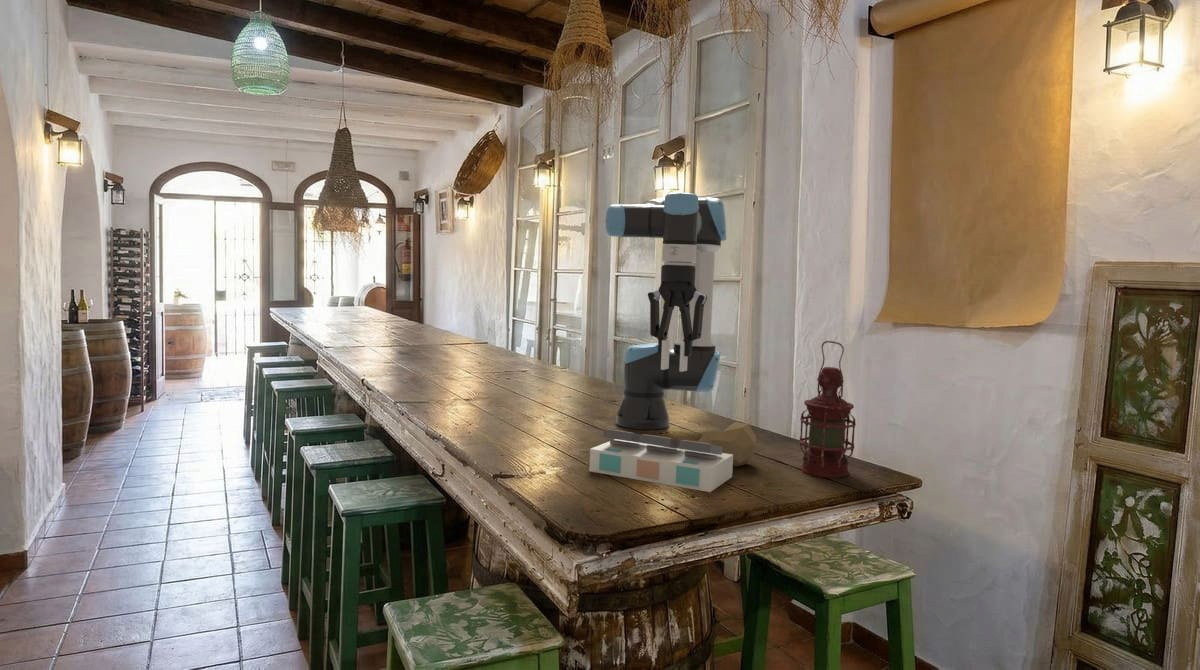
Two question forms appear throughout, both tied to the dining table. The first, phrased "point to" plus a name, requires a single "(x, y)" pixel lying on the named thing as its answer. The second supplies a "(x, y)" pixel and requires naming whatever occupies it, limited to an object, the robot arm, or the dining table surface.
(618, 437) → the rocker
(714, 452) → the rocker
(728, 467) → the console
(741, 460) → the low-poly potato
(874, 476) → the dining table surface
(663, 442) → the rocker middle
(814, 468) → the lantern
